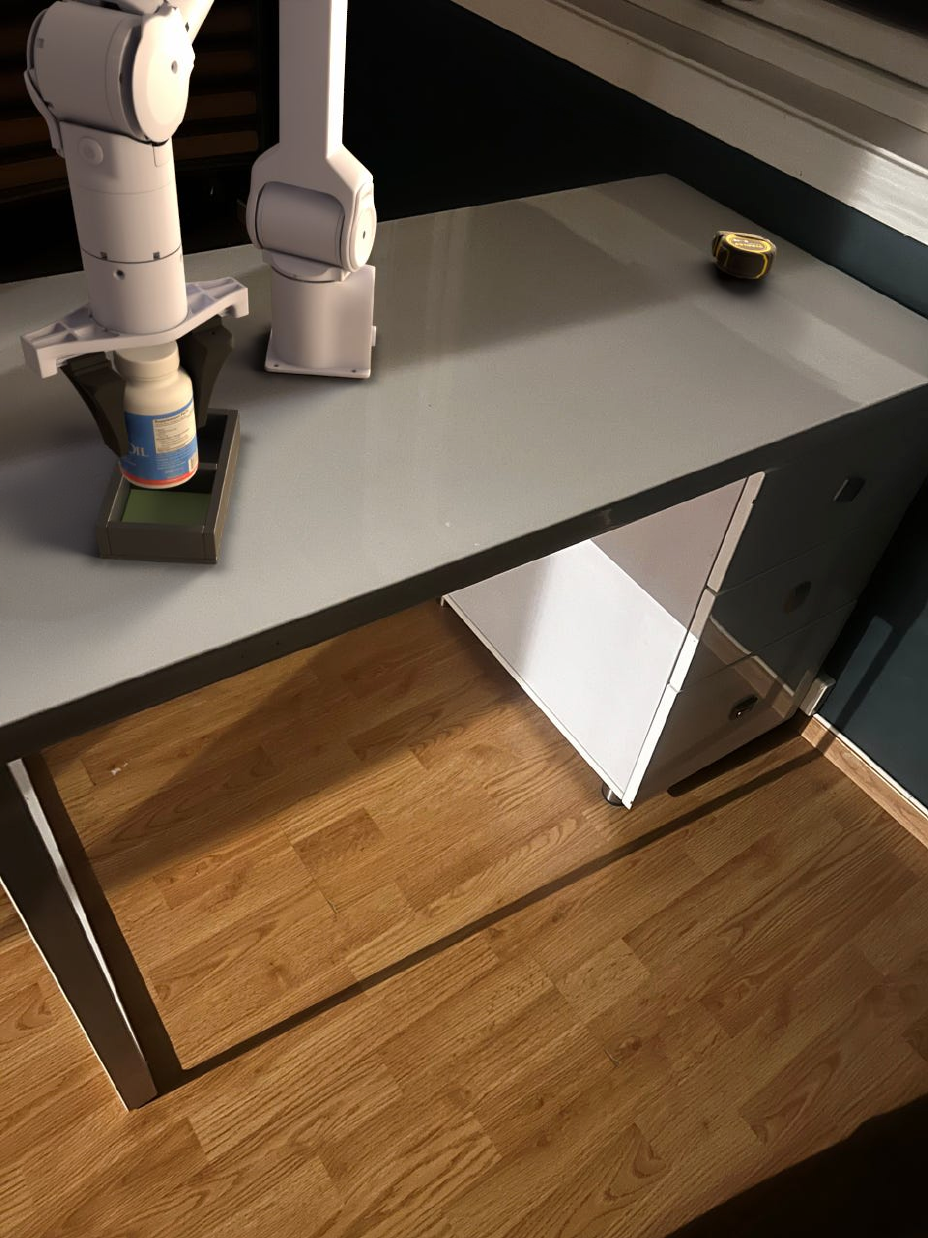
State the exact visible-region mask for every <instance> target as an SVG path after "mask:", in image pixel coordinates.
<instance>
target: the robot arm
mask: <svg viewBox="0 0 928 1238" xmlns="http://www.w3.org/2000/svg"><path fill="white" fill-rule="evenodd" d="M214 2H215V0H62V1H60V0H57V1H55V2H54V3H52V5H50V6H49V7H47V8H45V9H43V10H41V12H40V13H38V15H37V16H36V17H35V19H34V20H33V22H32V24H31V26H30V30H29V34H28V36H27V37H28V38H27V44H26V64H27V68H26V70H24V72H23V77H24V82H25V85H26V89H27V91H28V94H29V97H30V99H31V101H32V103H33V105H34V106H35V108H36V109H37V111H38V112H39V113H40V114H41V115H42V117H43V118H44V119H45V122H46V123H47V126H48V130H49V136H50V141H51V147H52V149H55V151H56V154H57V155H58V156H60V157H61V158H62V159H64V160H65V167H66V173H67V178H68V183H69V184H68V185H69V190H70V195H71V201H72V207H73V214H74V221H75V224H76V231H77V236H78V242H79V248H80V254H81V259H82V260H81V261H82V264H83V265H82V266H83V272H84V278H85V284H86V290H87V295H88V302H86V303H84V304H83V305H81V306H79V307H78V308H76V309H74V310H72V311H70V312H68V313H66V314H64V315H63V316H61V317H60V318H58V319H56V320H54V321H52V322H51V323H48V324H47V325H45V326H43V327H40V328H38V329H35V330H33V331H30V332H27V333H24V334H20V335H19V339H20V344H21V348H22V353H23V357H24V360H25V361H24V362H25V365H26V366H28V367H29V369H30V370H31V371H32V372H34V373H35V374H36V375H37V376H38V377H39V378H40V379H46V378H49V377H52V376H55V375H57V374H58V368H59V369H60V370H61V372H62V373H63V374H64V375H65V377H66V378H67V379H68V381H69V382H70V383H71V384H72V386H73V387H74V388H75V390H76V392H77V393H78V394H79V396H80V398H81V399H82V401H83V402H84V403H85V406H86V407H87V408H88V411H89V412H90V414H91V417H92V418H93V420H94V422H95V424H96V426H97V428H98V431H99V433H100V435H101V439H102V441H103V443H104V445H105V446H106V447H107V449H109V450H110V451H111V452H112V453H113V454H114V455H115V456H116V457H117V456H118V457H123V456H125V455H128V454H129V441H128V435H127V430H126V425H125V418H124V395H125V387H126V382H127V381H126V380H125V379H124V378H123V377H122V376H121V375H120V374H118V373H117V372H116V371H115V370H114V367H113V363H112V360H111V359H108V358H107V355H106V353H110V352H113V350H121V349H130V348H140V347H149V346H156V345H161V344H165V343H168V342H171V341H174V340H175V341H176V343H177V346H178V353H179V360H180V361H179V365H180V366H181V367H183V368H184V369H185V370H186V372H187V373H188V374H189V376H190V379H191V382H192V391H193V402H194V414H195V425H196V428H197V429H198V428H200V427H203V426H205V422H206V417H207V412H208V408H210V404H211V403H210V402H211V398H212V394H213V391H214V389H215V385H216V381H217V380H218V377H219V374H220V373H221V370H222V368H223V366H224V364H225V362H226V361H227V359H228V358H229V356H230V354H231V353H232V352H233V350H234V346H235V345H234V344H235V343H234V334H233V332H232V331H230V330H229V329H228V328H227V327H225V326H224V325H223V317H227V316H229V315H230V316H231V317H233V318H235V319H239V318H243V317H245V316H248V315H249V292H248V287H246V286H245V285H243V284H242V283H241V282H240V281H238V280H237V279H235V278H234V277H232V276H226V277H222V278H217V279H211V280H202V281H201V280H200V281H190V282H186V277H185V267H184V257H183V246H182V238H181V227H180V225H181V224H180V218H179V206H178V194H177V184H176V174H175V162H174V152H173V142H172V141H173V140H172V136H173V135H174V133H176V131H177V129H178V127H179V125H180V124H181V123H182V122H183V119H184V116H185V113H186V109H187V103H188V98H189V85H190V77H191V73H192V71H193V69H194V67H195V65H194V61H195V59H196V56H195V55H196V54H195V52H194V49H193V46H192V44H193V42H194V40H195V38H196V37H197V35H198V33H199V30H200V29H201V27H202V25H203V23H204V20H205V19H206V17H207V15H208V14H209V11H210V10H211V7H212V5H213V3H214ZM278 3H279V4H278V11H279V12H278V15H279V17H278V19H279V20H278V21H279V24H278V26H279V27H278V28H279V29H278V30H279V31H278V32H279V33H278V35H279V36H278V37H279V39H278V40H279V42H278V43H279V49H278V50H279V51H278V52H279V53H278V54H279V59H278V60H279V62H278V63H279V67H278V68H279V73H278V74H279V76H278V77H279V78H278V79H279V84H278V86H279V98H278V99H279V101H278V102H279V106H278V107H279V142H278V143H276V144H274V145H273V146H271V147H269V148H268V149H267V150H265V151H264V152H263V153H262V154H260V155H259V156H258V157H257V159H256V160H255V161H254V163H253V165H252V167H251V172H250V173H251V175H250V187H249V188H250V189H249V194H248V198H247V203H246V209H245V224H246V231H247V234H248V236H249V238H250V241H251V242H252V243H251V244H252V245H253V246H254V248H256V249H257V250H260V251H262V252H261V253H262V255H261V256H262V263H264V264H267V265H269V266H270V267H269V268H270V271H269V272H270V304H271V306H270V307H271V328H270V333H269V339H268V345H267V350H266V355H265V361H264V370H265V371H267V372H271V373H272V372H273V373H285V374H299V375H311V376H312V375H313V376H314V375H315V376H327V377H339V378H351V379H352V378H353V379H368V378H370V376H371V362H372V361H371V360H372V347H376V334H377V333H376V332H377V326H376V325H373V321H374V304H375V303H374V301H375V281H376V280H375V279H376V267H375V266H373V265H370V264H367V262H368V260H369V258H370V255H371V252H372V250H373V248H374V247H373V246H374V243H375V237H376V231H377V211H376V208H375V202H374V201H375V200H374V198H375V197H374V183H373V179H374V178H373V175H372V173H371V172H370V171H369V170H368V169H367V168H366V167H365V166H364V165H363V164H362V163H361V161H359V160H358V159H357V158H356V157H355V156H354V155H353V154H352V153H351V152H350V151H349V150H348V149H347V148H346V147H345V146H344V144H343V117H344V116H343V115H344V93H345V91H344V89H345V66H346V65H345V64H346V42H347V41H346V40H347V39H346V38H347V37H346V36H347V15H348V14H347V13H348V12H347V11H348V0H278ZM118 457H117V458H118Z"/></svg>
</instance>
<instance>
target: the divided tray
mask: <svg viewBox="0 0 928 1238" xmlns="http://www.w3.org/2000/svg"><path fill="white" fill-rule="evenodd" d="M240 418H241V417H240V409H233V408H221V407H220V408H217V407H208V412H207V417H206V422H205V426H203V427H200V428H198V429H197V428H196V437H197V448H198V467H197V470H196V472H195V473H194V475H193V476H192V477H191V478H190V479H189V480H188V481H186V482H184V483H182V484H180V485H177V486H174V487H170V488H162V489H152V488H144V487H140V486H137V485H135V484H133V483H131V482H130V481H128V480H127V479H126V478H125V477H124V476H123V474H122V473H121V470H120V467H119V463H118V458H117V459H116V462H115V465H114V468H113V471H112V475H111V477H110V480H109V483H108V486H107V489H106V492H105V495H104V498H103V501H102V504H101V507H100V510H99V513H98V516H97V518H96V522H95V525H94V531H95V536H96V541H97V546H98V551H99V556H100V559H108V560H109V559H110V560H128V561H145V562H146V561H148V562H168V563H188V564H189V563H190V564H208V565H211V564H212V565H217V564H218V560H219V555H220V550H221V545H222V539H223V535H224V529H225V525H226V520H227V519H226V518H227V513H228V510H229V509H228V508H229V504H230V498H231V493H232V488H233V483H234V477H235V472H236V466H237V463H238V462H237V461H238V456H239V451H240V445H241V441H242V436H241V419H240Z"/></svg>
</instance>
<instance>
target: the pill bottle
mask: <svg viewBox="0 0 928 1238" xmlns="http://www.w3.org/2000/svg"><path fill="white" fill-rule="evenodd" d="M112 356H113V365H114V367H113V369H114V370H115V371H116V372H117V373H118V374H120V375H121V376H122V377H123V378H124V379H125V380H126V381H127V382H126V387H125V395H124V418H125V425H126V430H127V435H128V441H129V454H128V455H125V456H123V457H118V456H117V455H116V457H117V459H118V463H119V467H120V470H121V473H122V474H123V476H124V477H125V478H126V479H127V480H128V481H130V482H131V483H133V484H135V485H137V486H140V487H144V488H152V489H162V488H170V487H174V486H177V485H180V484H182V483H184V482H186V481H188V480H189V479H190V478H191V477H192V476H193V475H194V473H195V472H196V470H197V467H198V448H197V437H196V425H195V414H194V402H193V391H192V382H191V379H190V376H189V374H188V373H187V372H186V370H185V369H184V368H183V367H181V366H180V365H179V361H180V360H179V353H178V346H177V343H176V341H175V340H174V341H171V342H168V343H165V344H161V345H156V346H149V347H140V348H130V349H121V350H112Z"/></svg>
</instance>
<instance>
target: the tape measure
mask: <svg viewBox="0 0 928 1238" xmlns="http://www.w3.org/2000/svg"><path fill="white" fill-rule="evenodd" d="M710 246H711V247H710V248H711V255H712V257H713V258H715V259H714V261H715V265H716V266H717V267H718V268H719V269H720V270H721V271H722V272H724V273H726V274H728V275H731V276H734V277H736V278H738V279H739V278H740V279H748V280H753V279H754V280H755V279H756V280H757V279H762V278H765V277H767V276H768V275H769V274H770V272H771V271H772V269H773V266H774V264H775V261H776V257H777V254H778V253H777V252H778V249H777V247H776V245H775V244H774V243H773V242H772V241H771V240H770V239H768V238H767V237H763V236H761V235H756V234H750V233H743V232H733V231H725V230H718V231H717V232H716V233H715V234H714V235H713V236H712V240H711V242H710Z"/></svg>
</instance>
